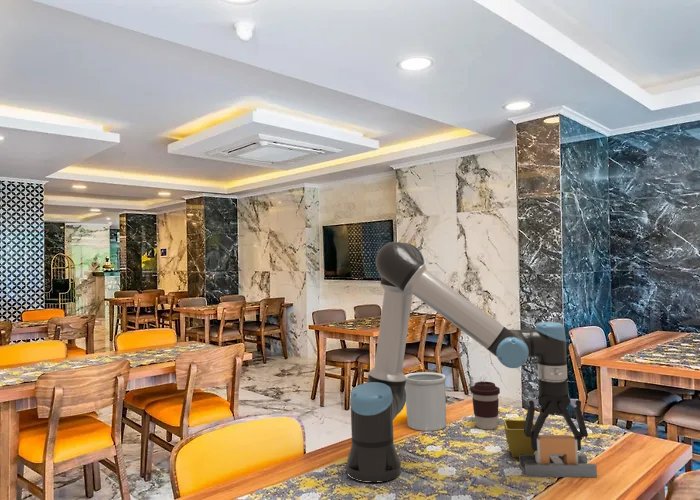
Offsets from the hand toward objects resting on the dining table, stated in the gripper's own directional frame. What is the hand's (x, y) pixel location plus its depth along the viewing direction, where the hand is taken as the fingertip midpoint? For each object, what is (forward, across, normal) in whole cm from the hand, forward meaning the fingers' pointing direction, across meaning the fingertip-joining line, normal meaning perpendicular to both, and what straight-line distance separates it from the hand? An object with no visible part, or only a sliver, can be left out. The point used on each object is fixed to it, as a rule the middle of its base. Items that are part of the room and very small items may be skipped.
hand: (556, 462), depth 135 cm
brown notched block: (0, 0, 0) cm, 0 cm away
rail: (+2, 0, 0) cm, 2 cm away
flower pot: (+2, -7, +11) cm, 13 cm away
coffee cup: (+2, -12, +37) cm, 39 cm away
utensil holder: (+2, -33, +39) cm, 51 cm away
